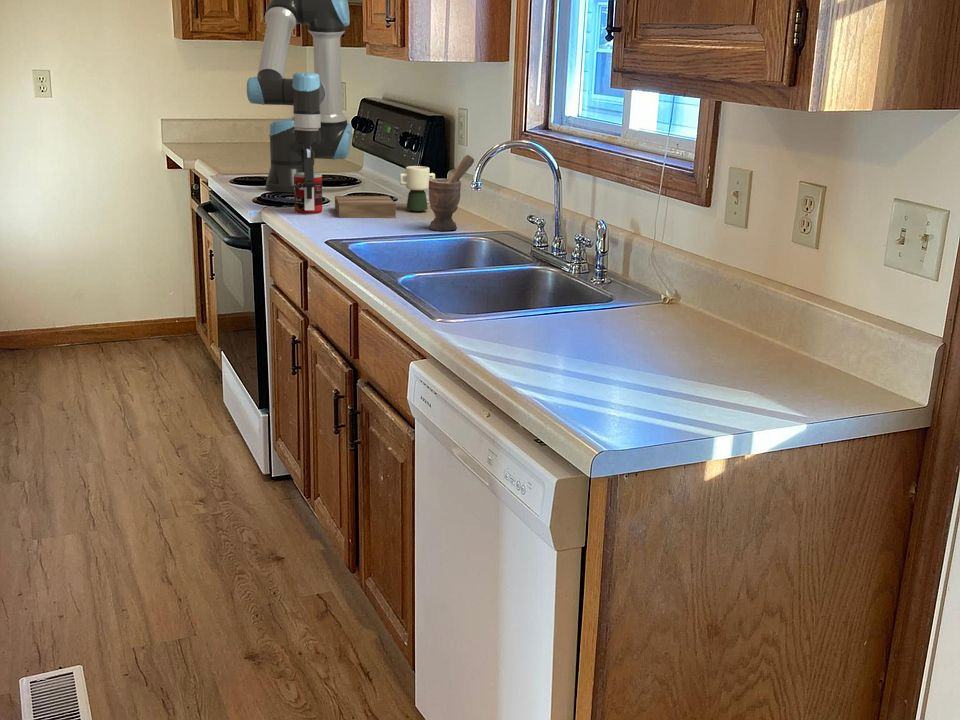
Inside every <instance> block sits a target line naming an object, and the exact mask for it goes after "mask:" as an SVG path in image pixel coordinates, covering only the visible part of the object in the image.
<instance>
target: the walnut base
mask: <svg viewBox="0 0 960 720" xmlns="http://www.w3.org/2000/svg"><path fill="white" fill-rule="evenodd" d="M396 208H397V204H396V203H395V201H394V200H393V199H392V198H391V197H390V195H334V210H335V212H336V215H337V217H338V218H339V219H370V218H371V219H396V216H397V214H396V211H397V210H396Z"/></svg>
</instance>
